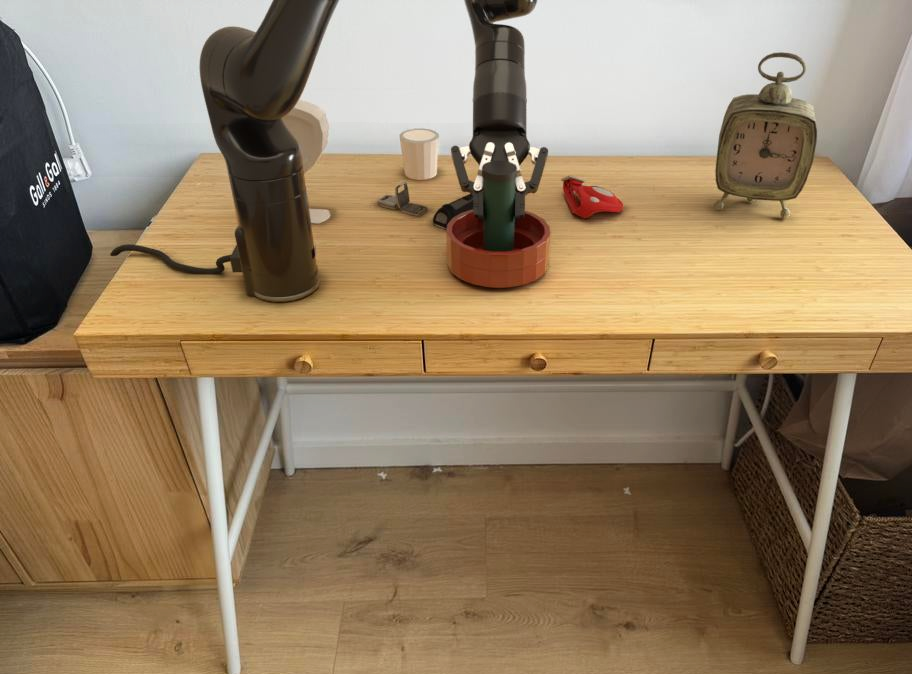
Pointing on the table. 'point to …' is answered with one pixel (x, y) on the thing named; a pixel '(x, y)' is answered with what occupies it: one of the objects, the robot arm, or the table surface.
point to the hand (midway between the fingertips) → (499, 220)
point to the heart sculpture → (309, 140)
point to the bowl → (498, 266)
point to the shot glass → (420, 153)
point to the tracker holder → (589, 198)
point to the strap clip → (401, 201)
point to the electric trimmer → (452, 210)
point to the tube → (498, 205)
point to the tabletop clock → (766, 143)
